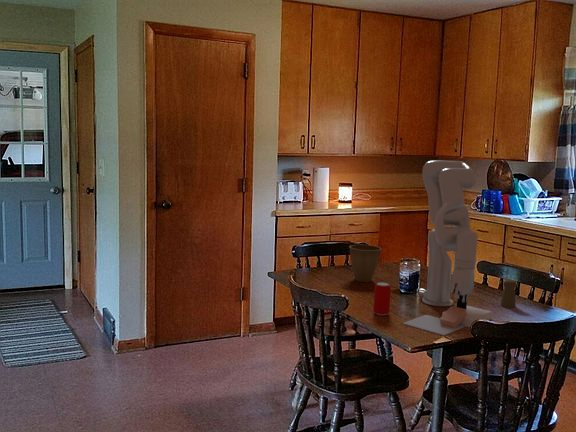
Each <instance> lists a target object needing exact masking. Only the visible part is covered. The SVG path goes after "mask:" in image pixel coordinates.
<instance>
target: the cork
mask: <svg viewBox="0 0 576 432" xmlns="http://www.w3.org/2000/svg"><path fill="white" fill-rule="evenodd" d="M502 286H503V292H502V297H501V300H500V305H499V306H500V307H501V308H507V309H515V308H516V306H517V305H516V288H517V282H516V281H515V280H512V279H506V280H504V281H503V283H502Z"/></svg>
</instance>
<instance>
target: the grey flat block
mask: <svg viewBox="0 0 576 432" xmlns="http://www.w3.org/2000/svg"><path fill="white" fill-rule="evenodd" d="M446 311H447V310H444V311H442V312H441V314H442V315H441V317H442V316H443V315H444V313H445V312H446ZM466 311H467V315H466V317H465V318H464V319H463V320H462V321H461V322H460V323H459V324H463V325H466V327H467V328H470V325H471V323H472V322H473V321H475V320H477V319H487V320H488V321H489V320H492V311H491V310H487V309H486V310H485V309H483V308H479V307H474V306H471V305H467V307H466Z"/></svg>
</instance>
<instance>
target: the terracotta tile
mask: <svg viewBox="0 0 576 432" xmlns="http://www.w3.org/2000/svg"><path fill="white" fill-rule="evenodd" d="M445 311H446V312H445ZM445 311H444V312H445V313H444V315H443V316H442V315H441V317H439V318H440V324H441V325H445V326H449V327H452V328H456V327H457V326H458V325H459V323H460V322H461V321H462V320H463V319H464V318H465V317H466V315H467V311H466V309H463V308H459V307H457V306H453V305H451V306H449V308H448V309H447V310H445Z"/></svg>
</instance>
